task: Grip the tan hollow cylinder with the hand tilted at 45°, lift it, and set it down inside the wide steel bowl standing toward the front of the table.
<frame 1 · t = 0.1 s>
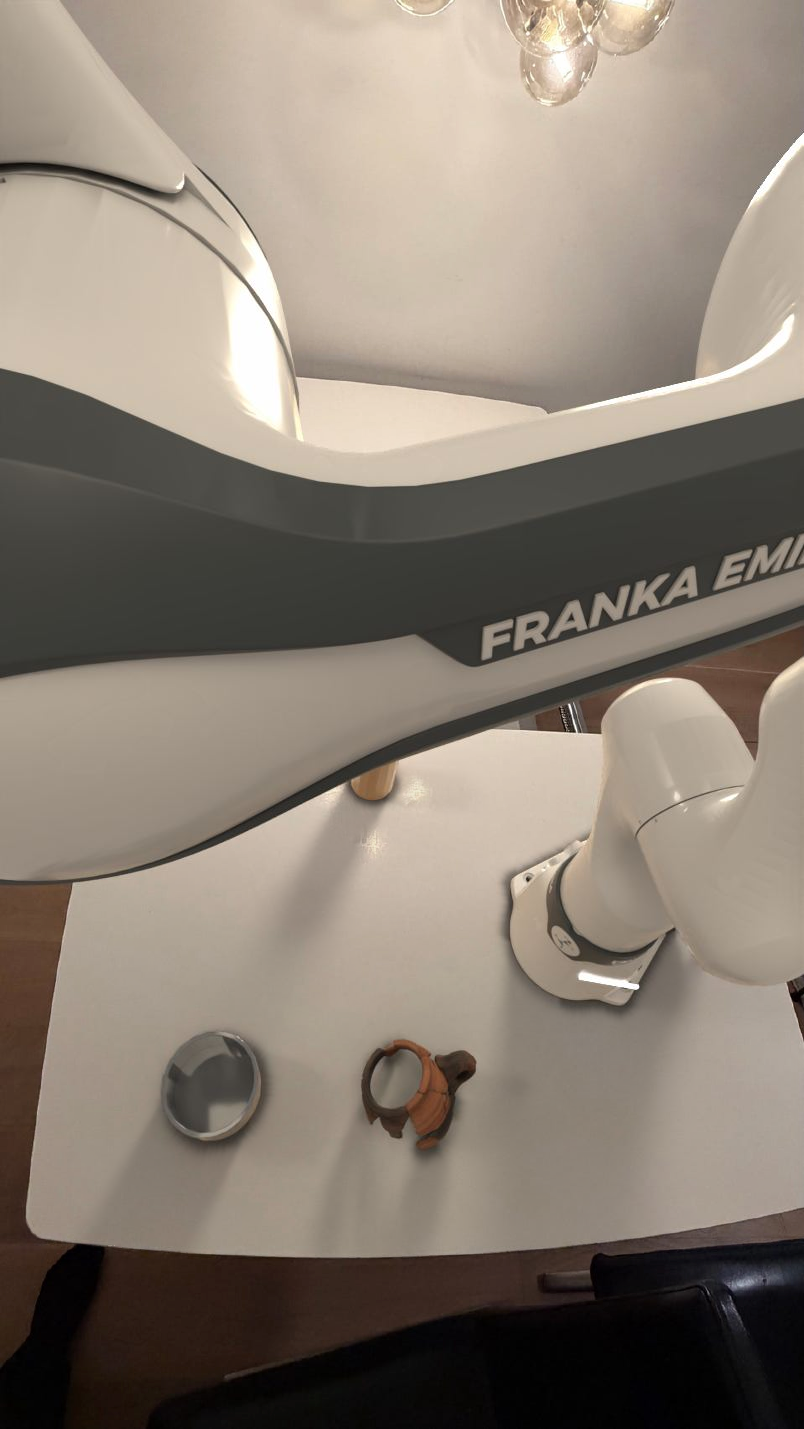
pottery mug: (416, 1091, 70), on the table
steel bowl: (217, 1089, 68), on the table
tan hollow cylinder: (371, 781, 90), on the table
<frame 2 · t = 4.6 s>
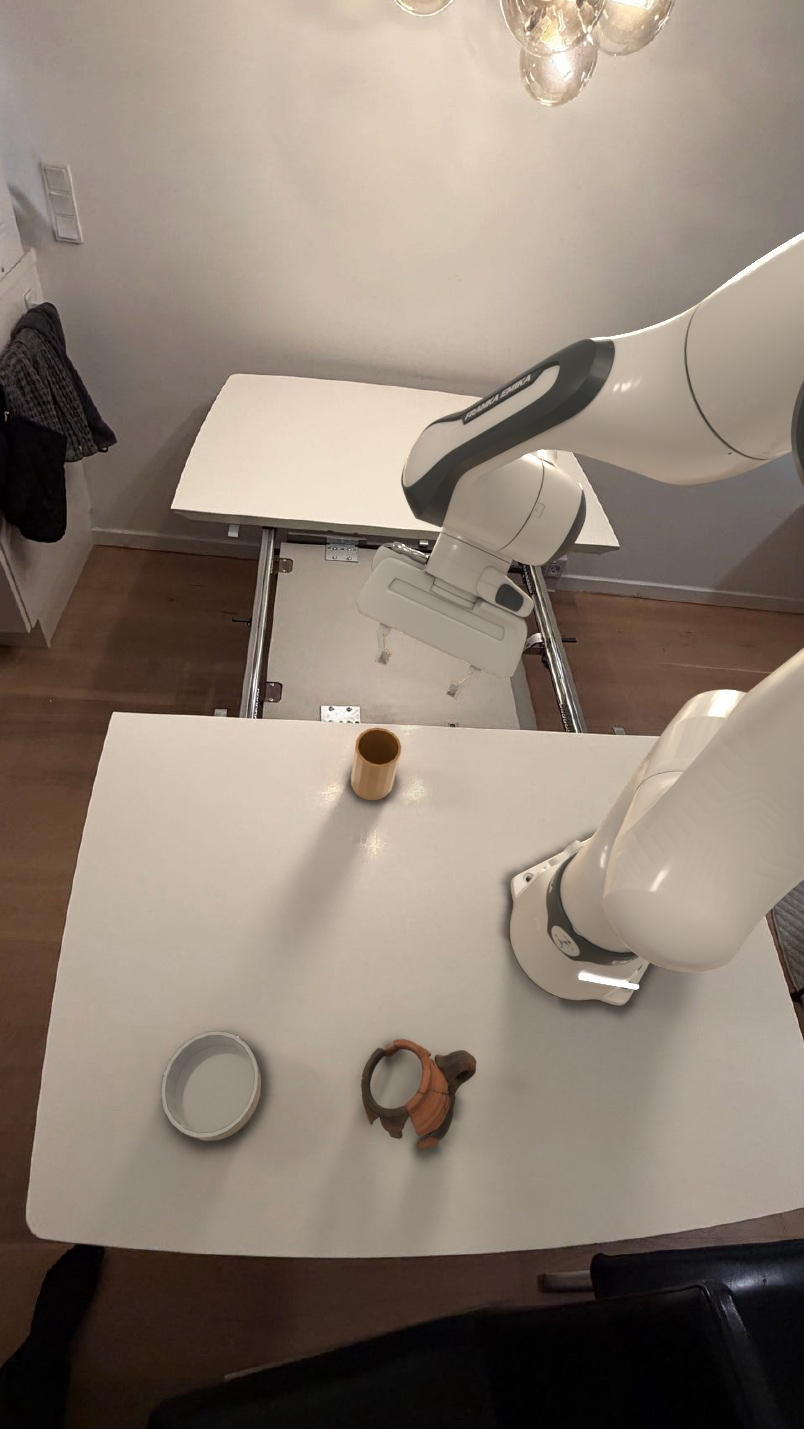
hand: (415, 680, 80), 17 cm above the table, tool tilted 40°, fingers open, 8 cm apart
nothing on the table moved.
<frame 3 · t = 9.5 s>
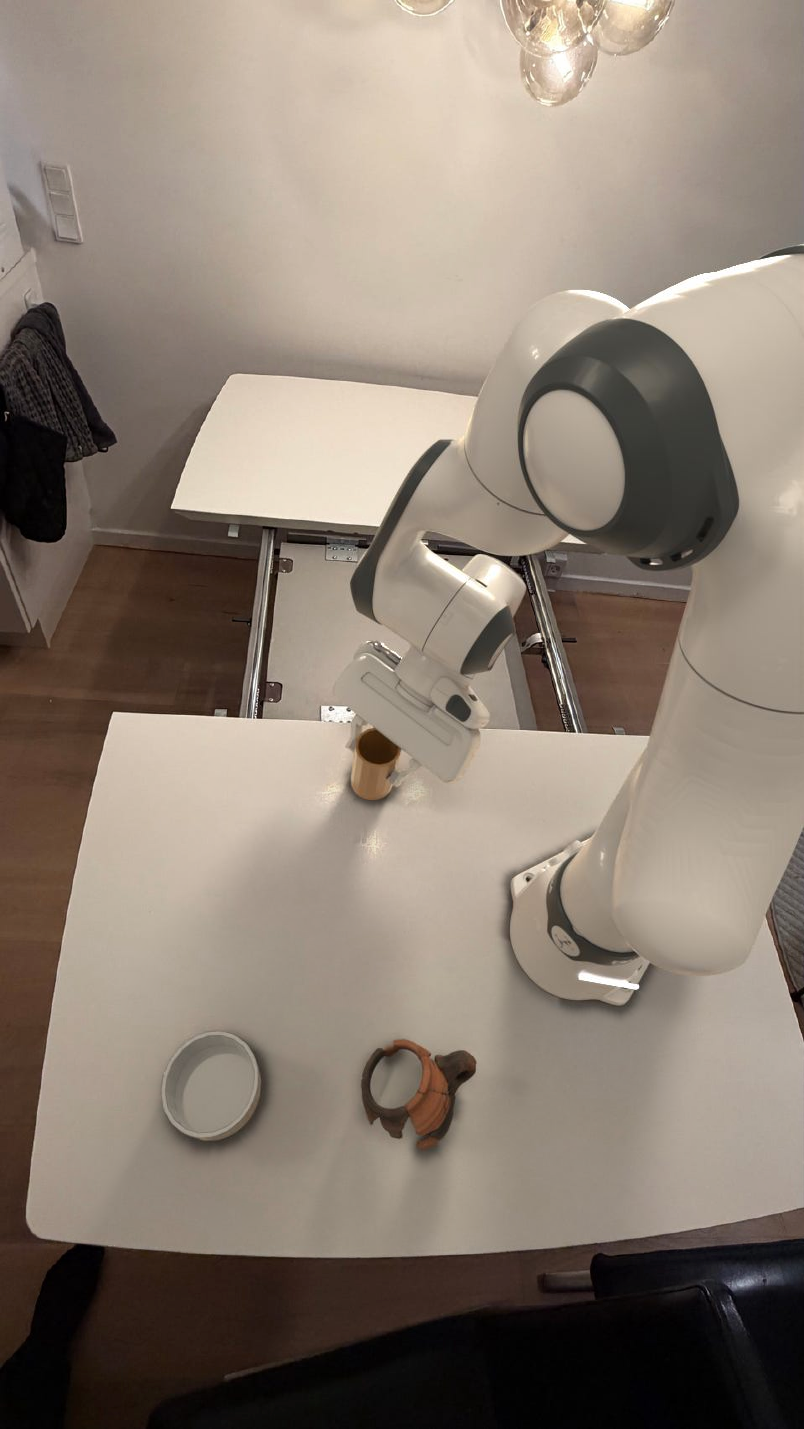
hand: (372, 766, 86), 5 cm above the table, tool tilted 45°, fingers closed on tan hollow cylinder, 6 cm apart
tan hollow cylinder: (371, 781, 90), on the table, touching gripper
everything else where it was.
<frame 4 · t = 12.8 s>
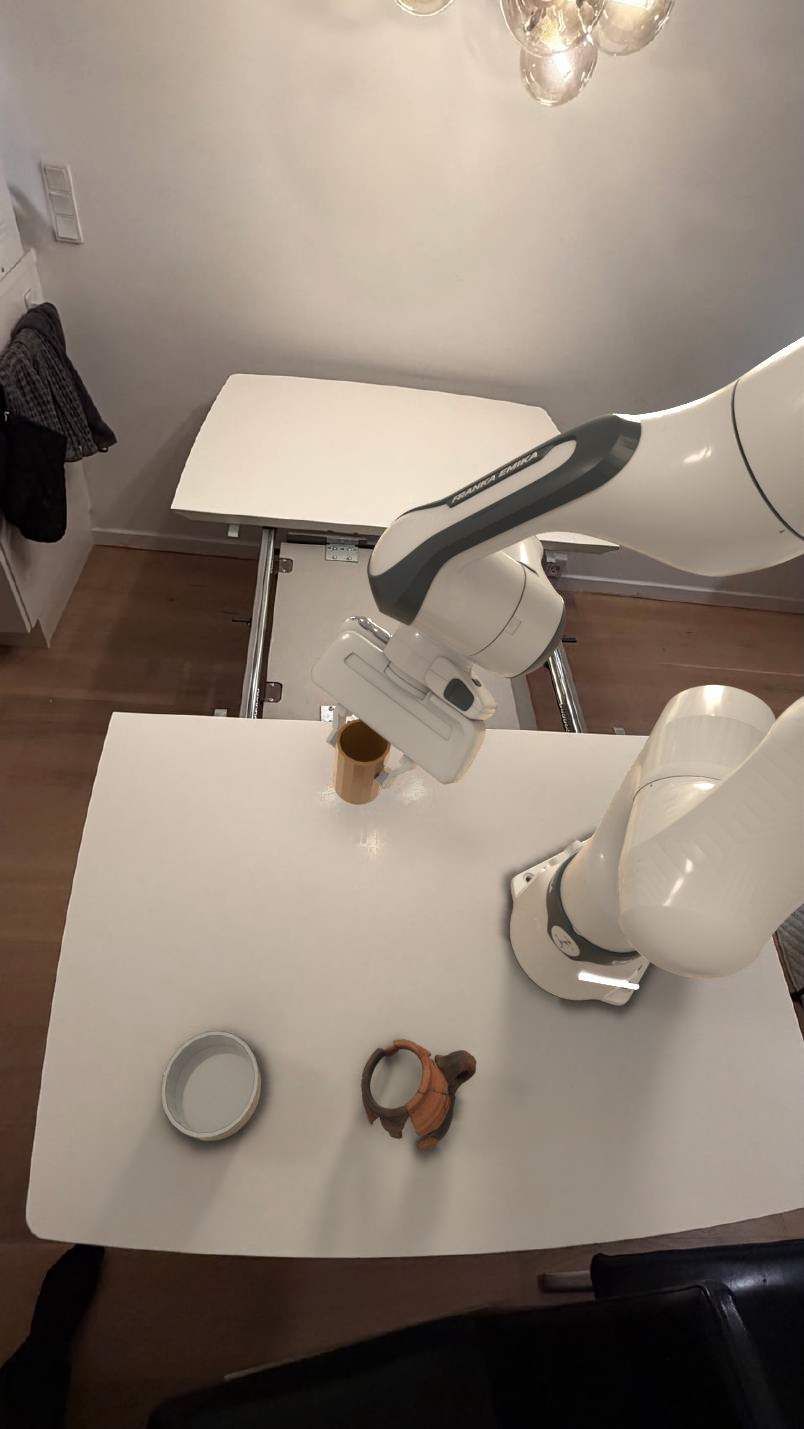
hand: (357, 765, 73), 16 cm above the table, tool tilted 45°, fingers closed on tan hollow cylinder, 6 cm apart
tan hollow cylinder: (357, 782, 77), point 11 cm above the table, touching gripper
everything else where it was.
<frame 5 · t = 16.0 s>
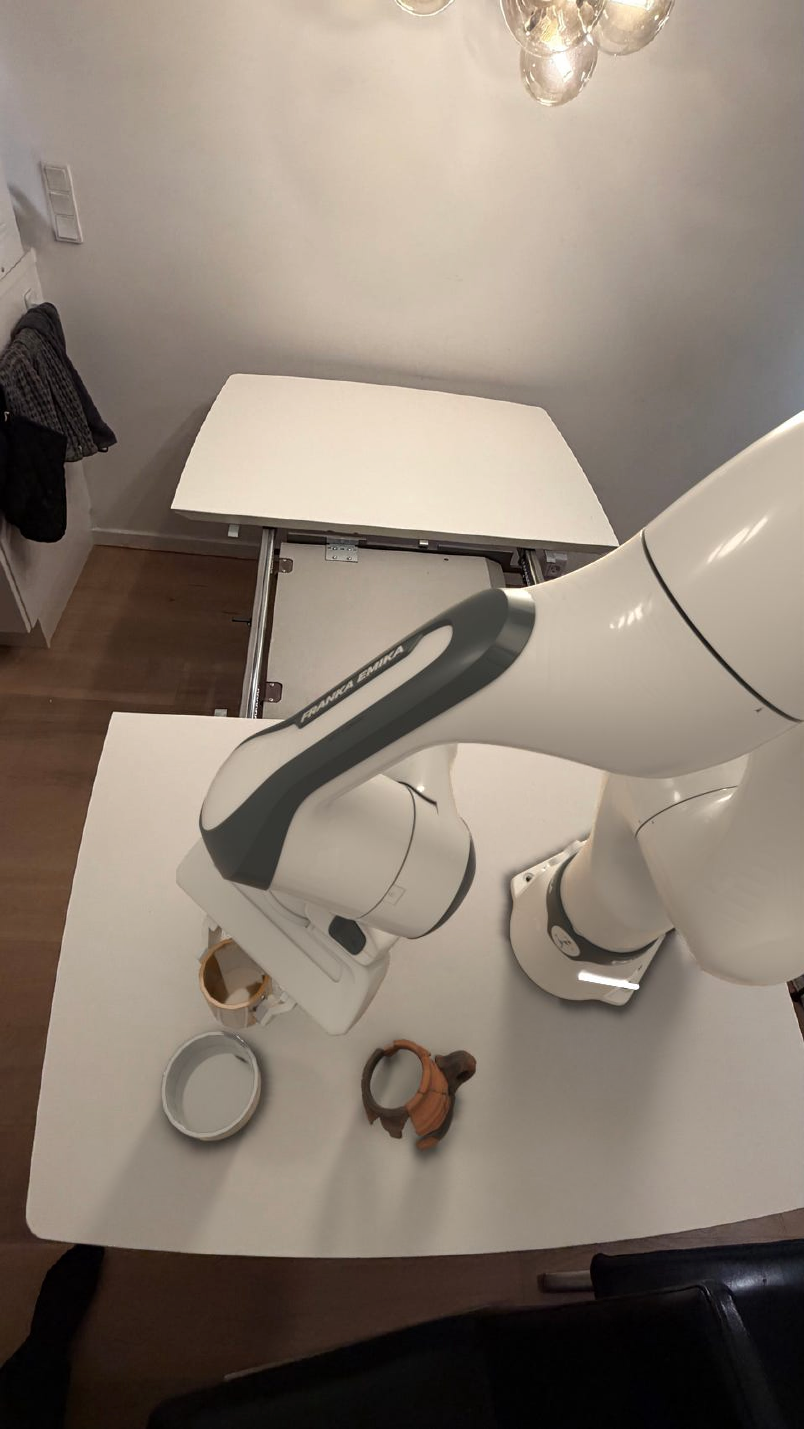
hand: (233, 989, 58), 17 cm above the table, tool tilted 45°, fingers closed on tan hollow cylinder, 6 cm apart
tan hollow cylinder: (241, 995, 62), point 12 cm above the table, touching gripper
everything else where it was.
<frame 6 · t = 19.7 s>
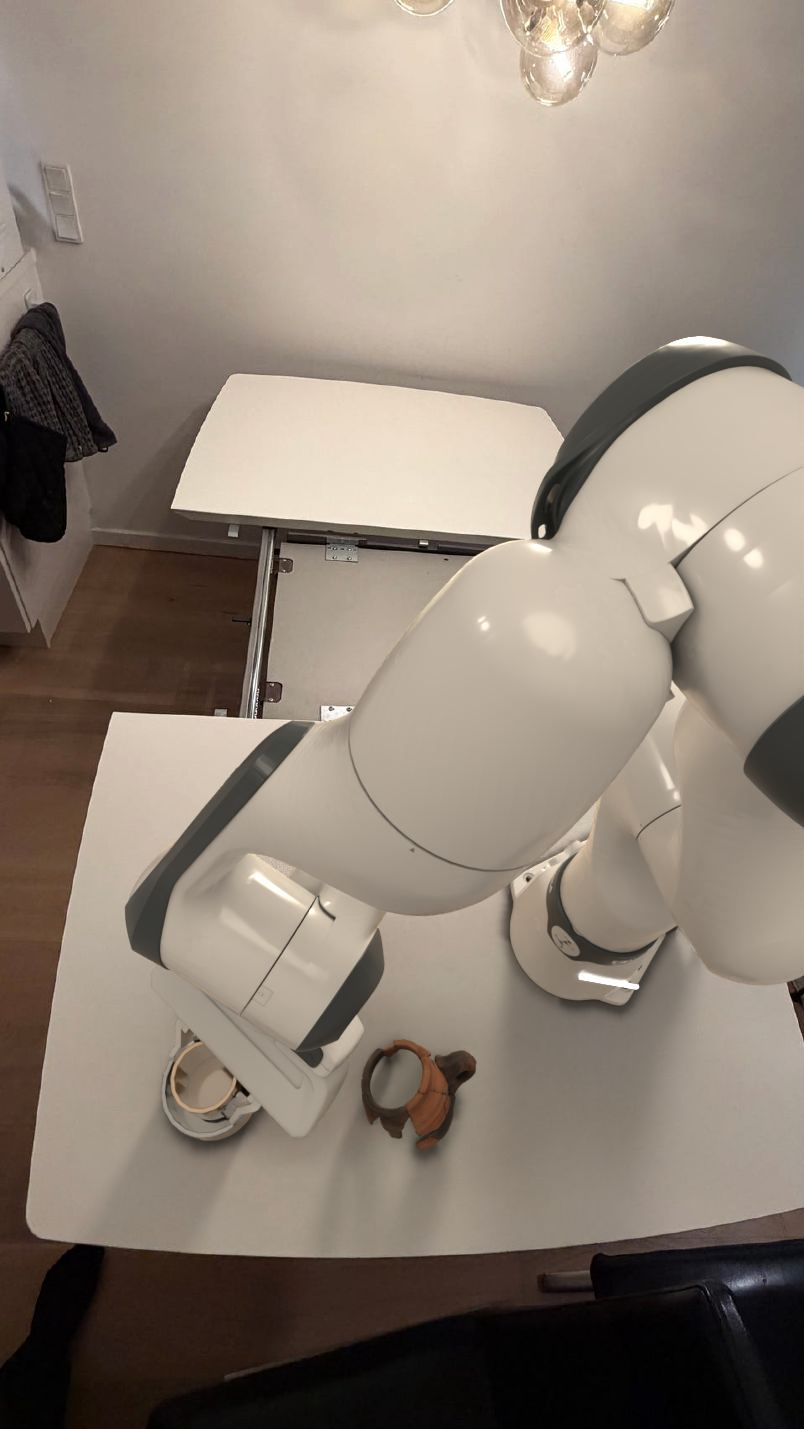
hand: (204, 1086, 62), 7 cm above the table, tool tilted 45°, fingers closed on tan hollow cylinder, 6 cm apart
tan hollow cylinder: (214, 1086, 66), point 2 cm above the table, touching gripper
everything else where it was.
when the fingers open (7 cm above the table, at t = 22.4 s): tan hollow cylinder drops 2 cm, resting on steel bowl.
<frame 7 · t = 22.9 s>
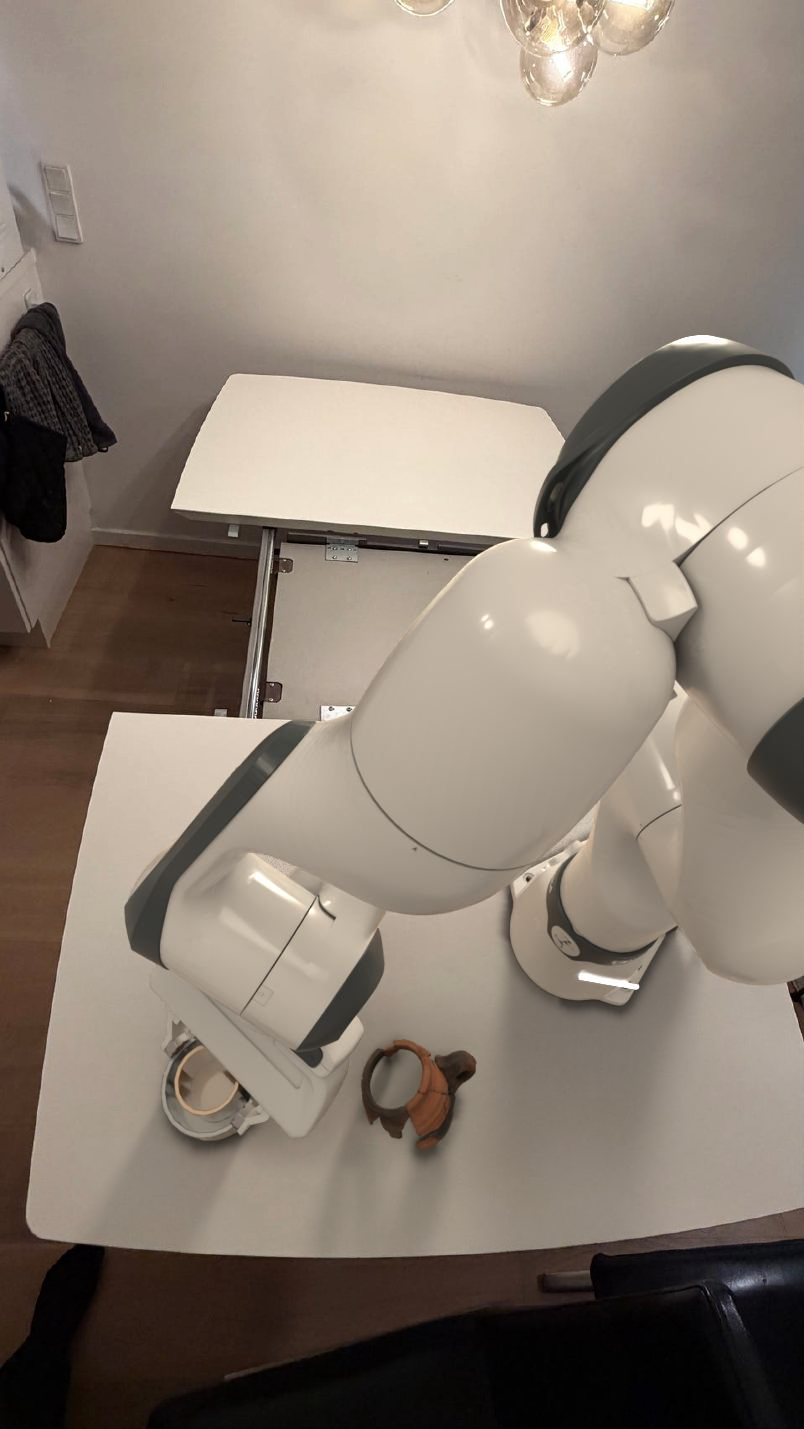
hand: (203, 1087, 62), 7 cm above the table, tool tilted 45°, fingers open, 8 cm apart
tan hollow cylinder: (217, 1088, 68), point 1 cm above the table, touching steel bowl
everything else where it was.
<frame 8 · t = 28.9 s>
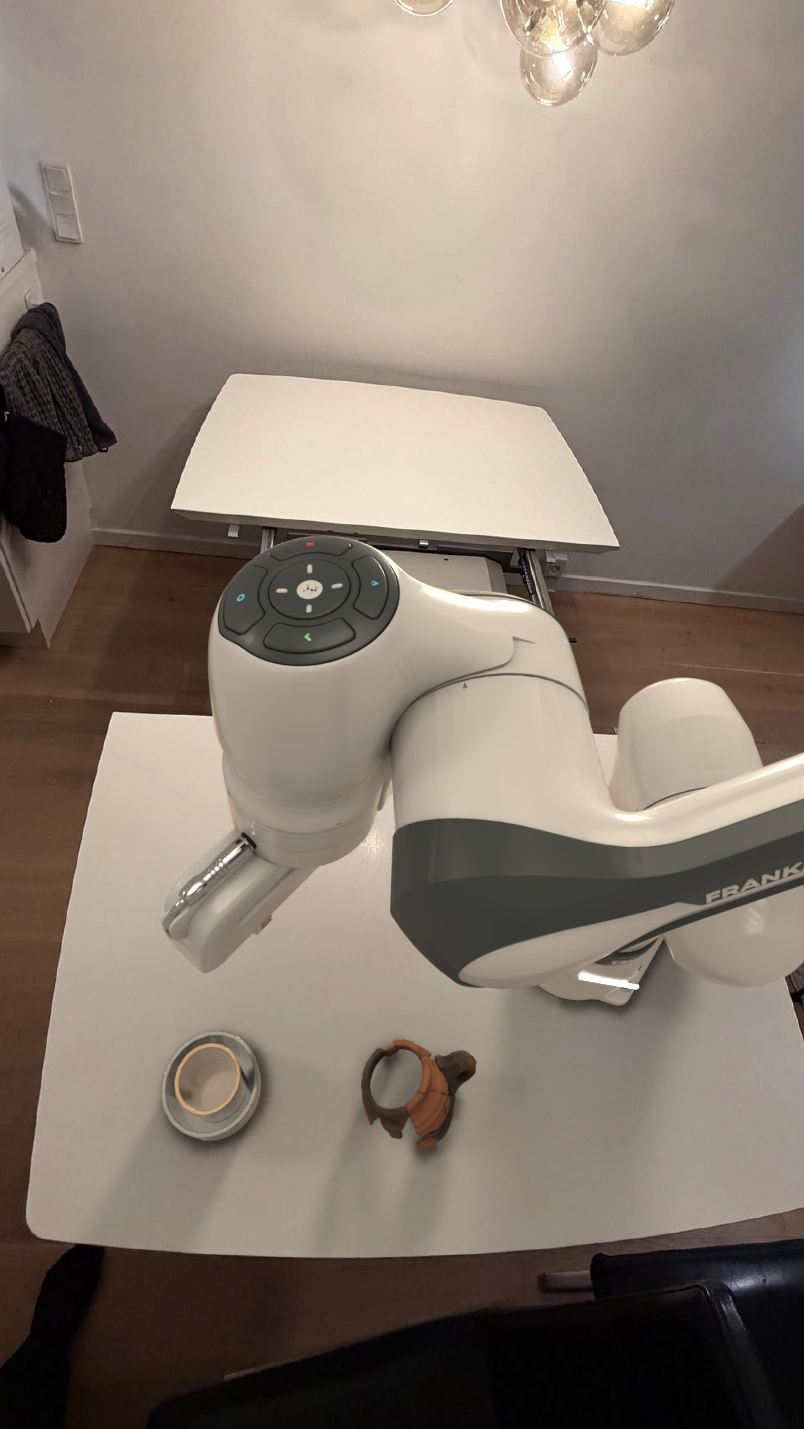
hand: (303, 874, 50), 31 cm above the table, tool pointing down, fingers open, 8 cm apart
nothing on the table moved.
at the end: tan hollow cylinder 0.1 cm off-centre in the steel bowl, point 0.6 cm above the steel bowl's base; tan hollow cylinder tilted 0°; the gripper is holding nothing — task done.
